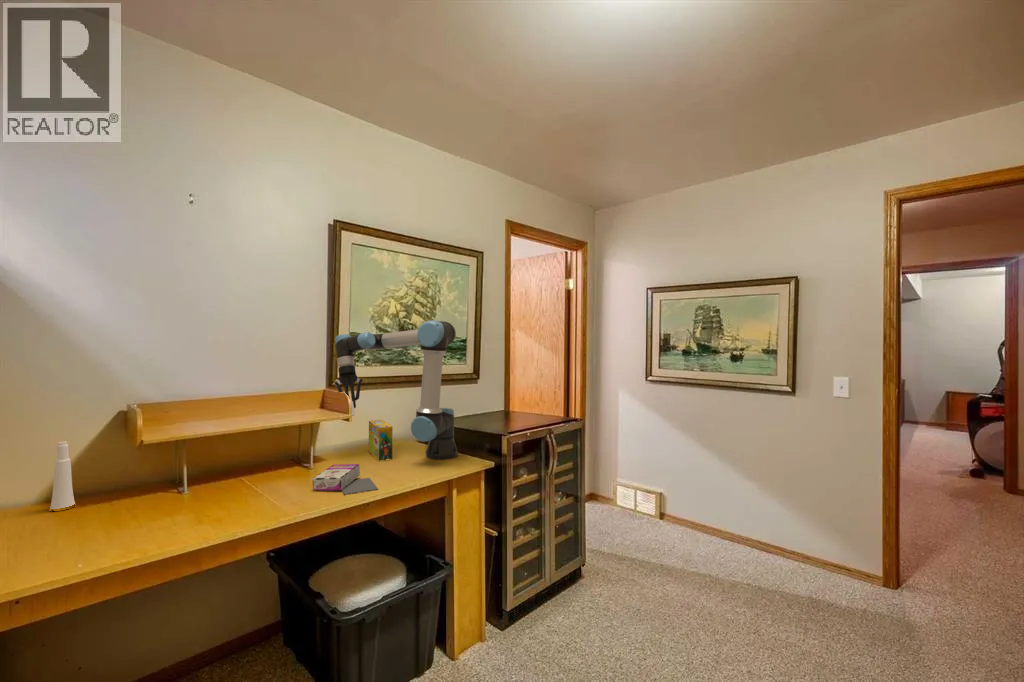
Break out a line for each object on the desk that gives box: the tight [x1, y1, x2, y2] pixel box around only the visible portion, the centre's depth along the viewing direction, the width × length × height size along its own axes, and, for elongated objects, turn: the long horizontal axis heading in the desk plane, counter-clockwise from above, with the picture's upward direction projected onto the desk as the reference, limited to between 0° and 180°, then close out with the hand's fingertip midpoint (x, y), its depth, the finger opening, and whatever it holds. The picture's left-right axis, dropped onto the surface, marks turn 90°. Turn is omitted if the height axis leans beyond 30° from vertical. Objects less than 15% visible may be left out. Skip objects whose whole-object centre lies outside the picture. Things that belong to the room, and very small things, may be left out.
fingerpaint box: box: [368, 419, 393, 461], centre depth 214 cm, size 19×7×16 cm, turn 32°
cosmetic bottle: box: [49, 440, 76, 510], centre depth 147 cm, size 6×6×22 cm
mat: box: [341, 477, 379, 496], centre depth 170 cm, size 12×15×1 cm
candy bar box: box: [311, 463, 361, 491], centre depth 172 cm, size 11×5×16 cm
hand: (352, 415), depth 208 cm, fingers closed
